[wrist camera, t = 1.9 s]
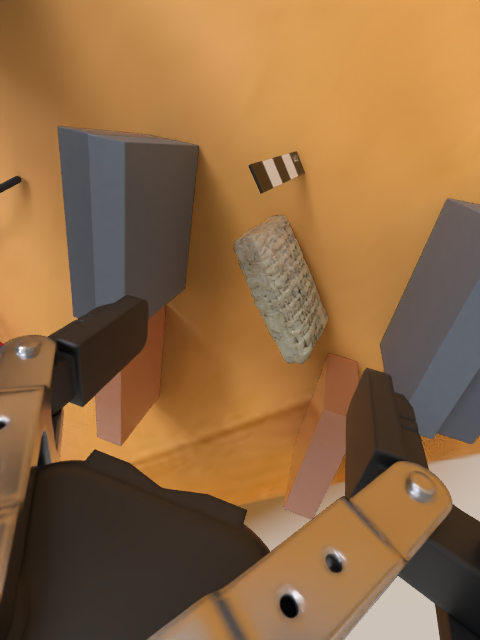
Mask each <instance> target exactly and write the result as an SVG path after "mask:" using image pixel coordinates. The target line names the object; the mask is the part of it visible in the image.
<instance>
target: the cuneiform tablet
mask: <svg viewBox="0 0 480 640" xmlns="http://www.w3.org/2000/svg"><path fill="white" fill-rule="evenodd" d="M249 168H250V171H251V173H252V175H253V177H254V180H255V182H256V184H257V187H258V189H259V191H260V193H264V192H266V191H268V190H270V189H272V188H274V187H276V186H278V185H280V184H282V183H285V182H287V181H289V180H291V179H293V178H295V177H297V176H299V175H301V174H303V173H305V172H304V169H303V167H302V164H301V162H300V159H299V157H298V154H297V152H292V153H289V154H285V155H282V156H278V157H275V158H271V159H268V160H264V161H261V162H257V163H254V164H250V165H249ZM233 249H234V251H235V253H236V254H237V258H238V261H239V265H240V268H241V269H242V272H243V274H244V276H245V277H246V278H245V279H246V282H247V285H248V286H249V288H250V290H251V296H252V297H253V299H254V303H255V305H256V307H257V308H258V309H259V310H260V314H261V316H262V318H263V320H264V322H265V324H266V326H267V328H268V330H269V333H270V335H271V337H272V338H273V339H274V341H275V342H276V344H277V346H278V348H279V350H280V353H281V355H282V357H283V359H284V360H285V361H286V362H287V363H298V364H303V363H304V362H305V361H306V360H307V359H308V357H309V356H310V354H311V352H312V349H313V348H314V346H315V344H316V342H317V341H318V339H319V338H320V336H321V334H322V332H323V330H324V328H325V326H326V324H327V323H328V315H327V313H326V311H325V310H324V308H323V305H322V304H321V302H320V301H321V300H320V298H319V295H318V291H317V289H316V285H315V282H314V281H313V278H312V275H311V273H310V271H309V269H308V266H307V263H306V262H305V260H304V259H303V252H302V251H301V249H300V246H299V243H298V241H297V240H296V239H295V237H294V234H293V231H292V229H291V227H290V224H289V222H288V221H287V219H286V217H285V216H283V215H282V216H278V215H275V216H272V217H270V218H268V219H266V220H265V221H264V222H262V223H260V224H259V225H257V226H255V227H253V228H251V229H249V230H248V231H246V232H245V233H244V234H243V235H242V236H241V237H240V238H238V239H237V240H235V241H234V244H233Z"/></svg>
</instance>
